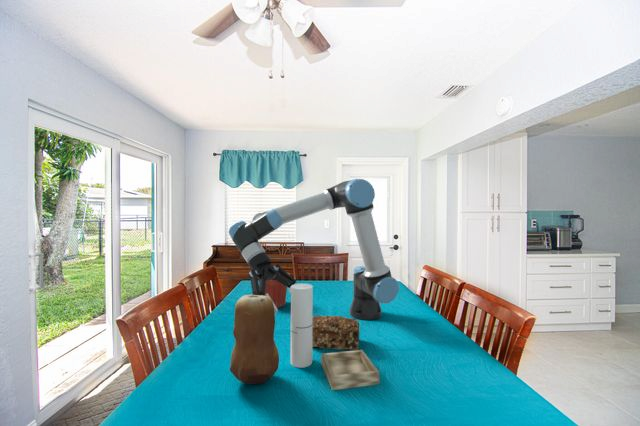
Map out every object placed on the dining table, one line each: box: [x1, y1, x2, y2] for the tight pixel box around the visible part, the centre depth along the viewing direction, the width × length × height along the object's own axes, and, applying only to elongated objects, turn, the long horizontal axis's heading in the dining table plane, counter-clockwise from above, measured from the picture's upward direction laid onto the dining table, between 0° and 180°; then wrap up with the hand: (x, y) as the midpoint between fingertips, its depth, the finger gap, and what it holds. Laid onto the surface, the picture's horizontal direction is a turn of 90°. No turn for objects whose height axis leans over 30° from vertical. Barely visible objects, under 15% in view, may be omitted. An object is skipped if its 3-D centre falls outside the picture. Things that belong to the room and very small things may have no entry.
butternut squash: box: [229, 293, 280, 386], centre depth 88 cm, size 14×13×25 cm
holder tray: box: [320, 349, 380, 391], centre depth 92 cm, size 14×14×4 cm
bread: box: [312, 314, 360, 351], centre depth 113 cm, size 19×11×10 cm, turn 82°
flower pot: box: [265, 272, 291, 309], centre depth 157 cm, size 16×16×16 cm
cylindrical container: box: [290, 283, 314, 369], centre depth 99 cm, size 7×7×25 cm
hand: (288, 307), depth 100 cm, fingers open, 13 cm apart
